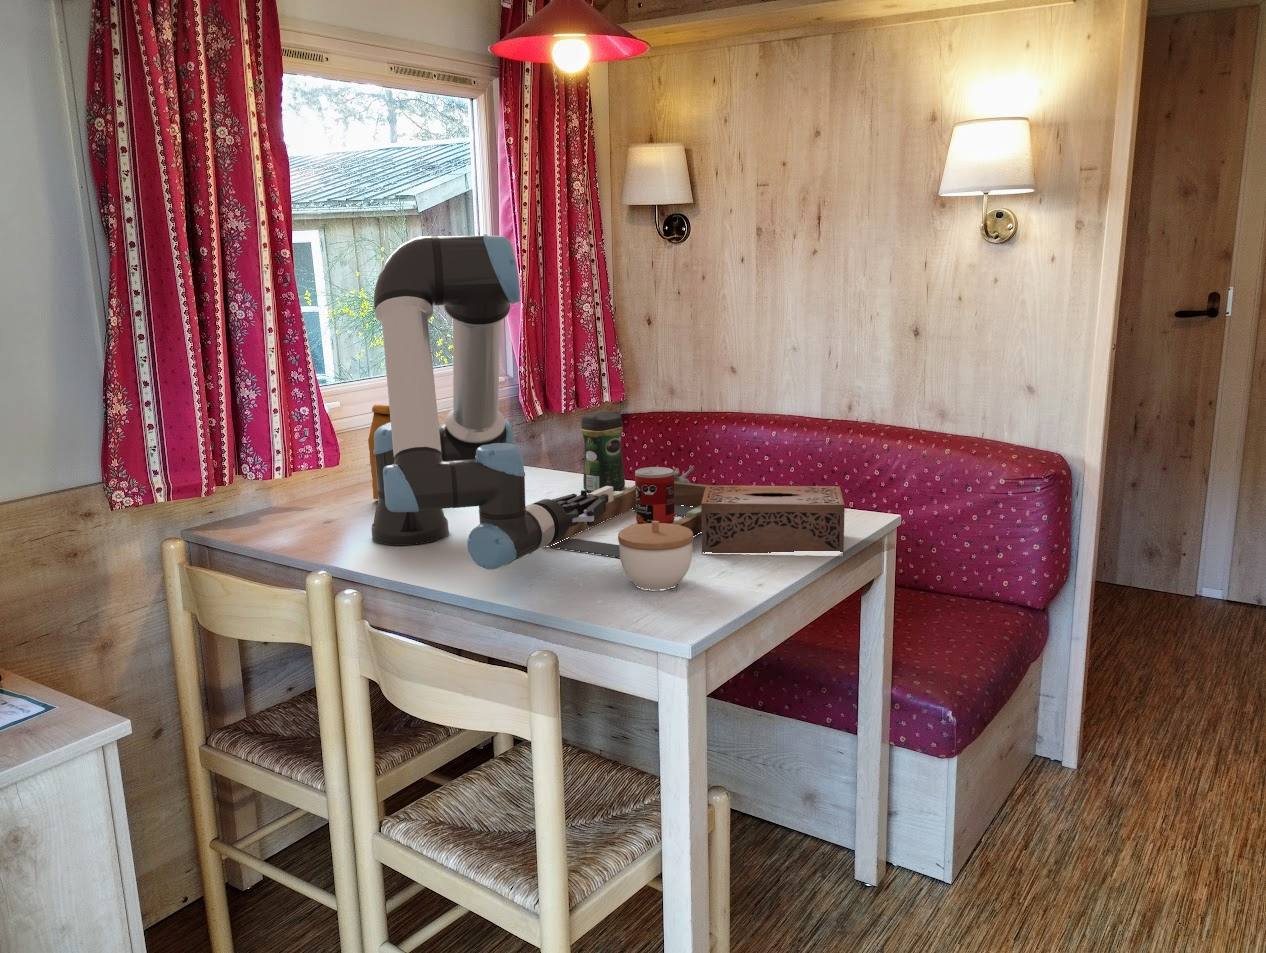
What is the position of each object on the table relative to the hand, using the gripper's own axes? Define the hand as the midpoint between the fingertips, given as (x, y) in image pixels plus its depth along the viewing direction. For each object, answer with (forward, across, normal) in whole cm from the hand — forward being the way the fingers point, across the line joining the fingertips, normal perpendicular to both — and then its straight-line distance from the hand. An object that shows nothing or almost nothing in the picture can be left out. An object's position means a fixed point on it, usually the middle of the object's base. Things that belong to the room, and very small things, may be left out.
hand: (609, 493), depth 197 cm
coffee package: (+11, -62, -12) cm, 64 cm away
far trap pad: (+28, 0, -11) cm, 30 cm away
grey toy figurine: (+42, -5, -11) cm, 44 cm away
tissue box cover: (+14, +27, -11) cm, 32 cm away
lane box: (+14, 0, -11) cm, 17 cm away
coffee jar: (+39, -25, -12) cm, 47 cm away
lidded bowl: (-16, +19, -10) cm, 27 cm away
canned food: (+18, 0, -11) cm, 21 cm away
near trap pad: (-3, 0, -10) cm, 11 cm away
